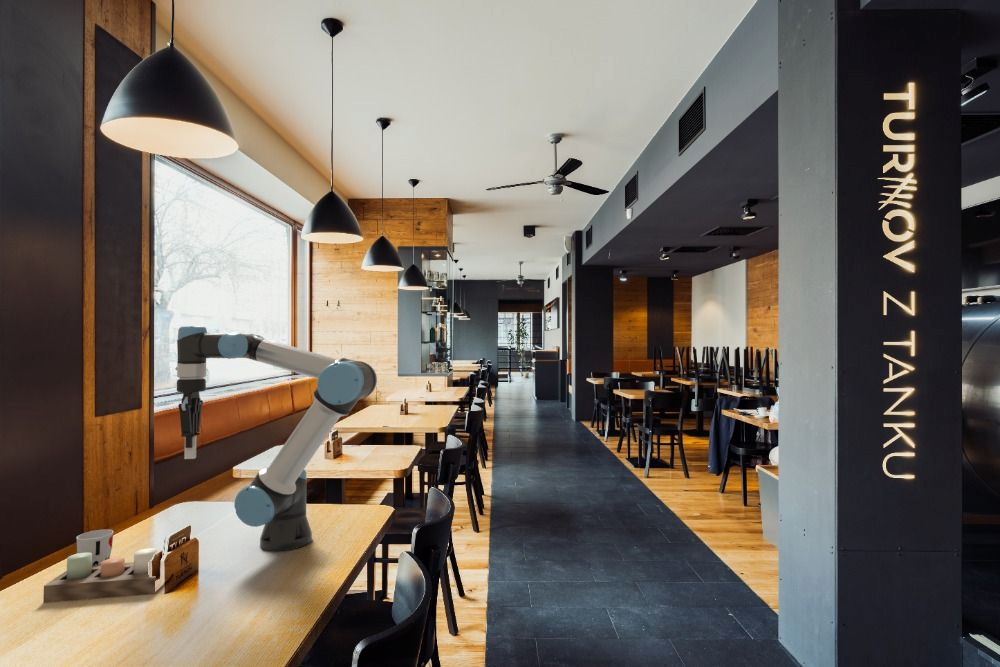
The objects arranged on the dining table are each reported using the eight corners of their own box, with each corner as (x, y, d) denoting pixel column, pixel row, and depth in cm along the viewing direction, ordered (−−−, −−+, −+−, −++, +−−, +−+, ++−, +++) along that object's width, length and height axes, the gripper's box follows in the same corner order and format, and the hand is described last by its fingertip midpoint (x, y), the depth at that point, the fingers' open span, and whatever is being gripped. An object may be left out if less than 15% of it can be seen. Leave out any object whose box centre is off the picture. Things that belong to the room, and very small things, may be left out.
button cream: (160, 566, 143) (160, 547, 143) (151, 574, 138) (152, 554, 138) (138, 568, 142) (139, 549, 142) (129, 576, 137) (130, 556, 137)
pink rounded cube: (128, 576, 141) (128, 556, 141) (118, 584, 136) (118, 564, 137) (106, 577, 140) (106, 558, 141) (96, 586, 135) (96, 565, 136)
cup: (92, 578, 144) (93, 540, 144) (67, 576, 146) (68, 538, 146) (120, 566, 152) (120, 530, 152) (95, 564, 154) (96, 528, 154)
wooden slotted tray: (173, 574, 146) (173, 559, 147) (154, 594, 135) (154, 577, 135) (72, 582, 142) (72, 566, 142) (43, 602, 130) (43, 585, 130)
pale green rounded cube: (95, 571, 140) (96, 551, 140) (84, 579, 135) (85, 559, 135) (73, 573, 139) (74, 553, 139) (62, 581, 134) (62, 560, 134)
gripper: (185, 377, 167) (184, 454, 167) (168, 379, 155) (167, 463, 154) (212, 377, 169) (211, 453, 168) (197, 379, 156) (196, 462, 155)
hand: (190, 458), depth 161 cm, fingers closed
